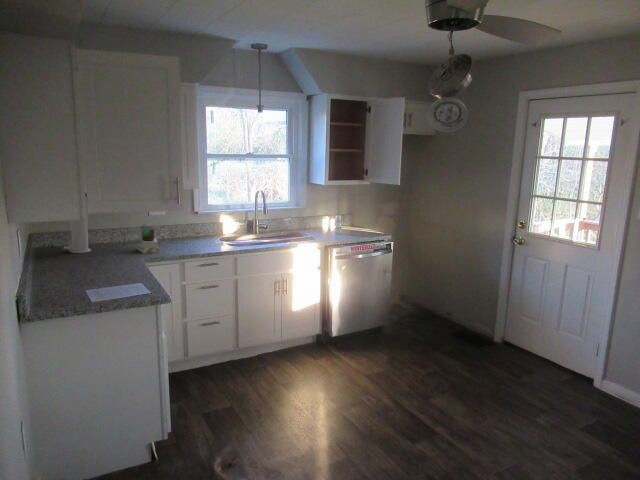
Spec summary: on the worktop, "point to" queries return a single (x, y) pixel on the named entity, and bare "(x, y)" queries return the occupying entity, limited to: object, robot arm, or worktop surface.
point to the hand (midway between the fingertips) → (135, 209)
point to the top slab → (150, 244)
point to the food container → (147, 233)
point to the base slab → (147, 249)
